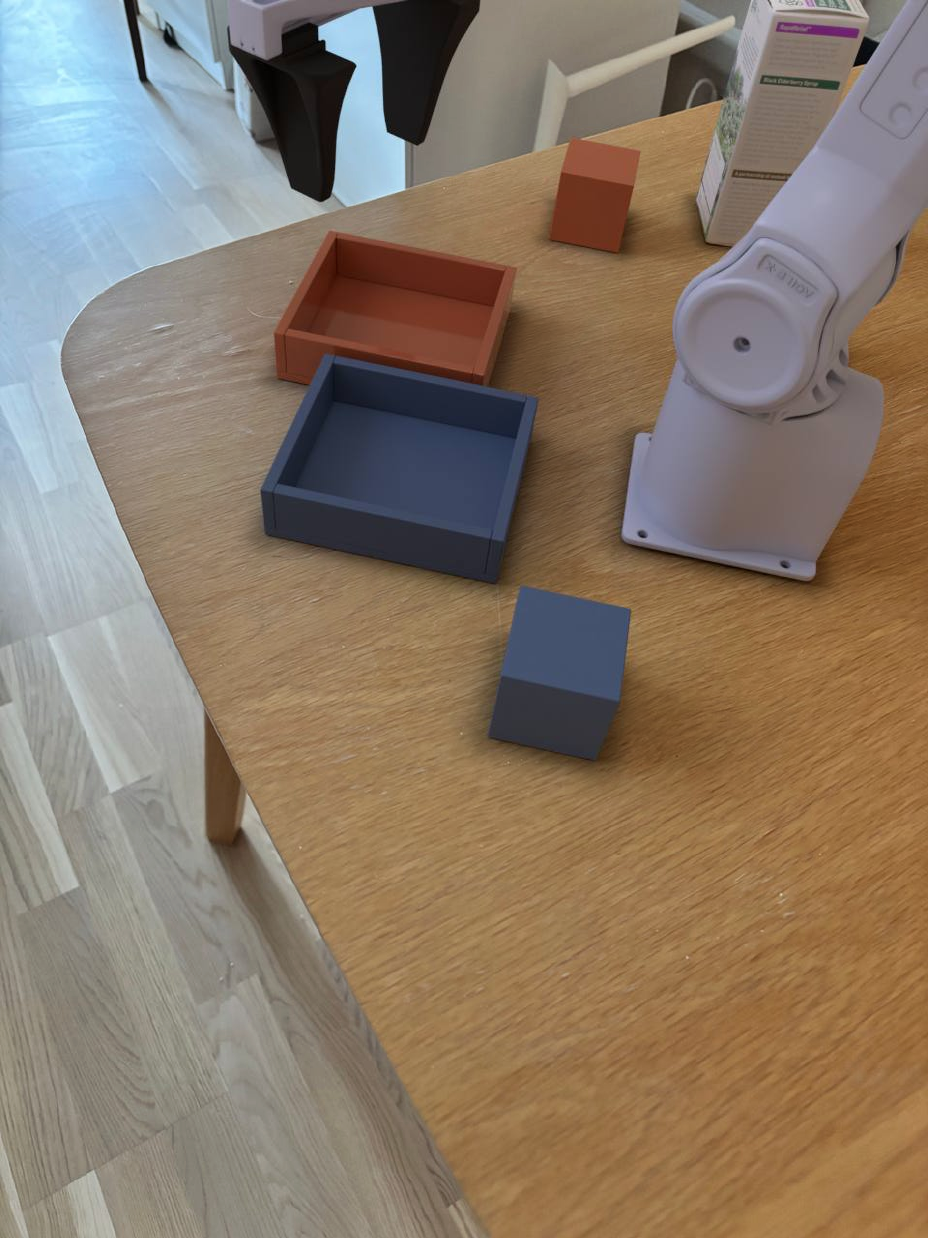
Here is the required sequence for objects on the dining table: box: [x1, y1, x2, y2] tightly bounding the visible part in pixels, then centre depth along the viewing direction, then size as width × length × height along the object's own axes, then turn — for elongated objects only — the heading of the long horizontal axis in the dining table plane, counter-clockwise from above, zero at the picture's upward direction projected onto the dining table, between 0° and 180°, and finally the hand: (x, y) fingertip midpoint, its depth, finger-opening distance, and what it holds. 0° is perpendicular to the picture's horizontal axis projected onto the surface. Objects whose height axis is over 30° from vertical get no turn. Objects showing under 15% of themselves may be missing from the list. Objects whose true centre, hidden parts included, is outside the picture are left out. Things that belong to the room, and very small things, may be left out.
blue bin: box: [259, 354, 540, 585], centre depth 48 cm, size 11×10×3 cm
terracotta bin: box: [273, 230, 518, 387], centre depth 55 cm, size 11×10×3 cm
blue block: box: [487, 585, 632, 761], centre depth 40 cm, size 5×5×5 cm
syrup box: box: [694, 0, 871, 247], centre depth 61 cm, size 6×6×14 cm
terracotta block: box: [548, 137, 641, 254], centre depth 63 cm, size 5×5×5 cm
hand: (359, 163), depth 49 cm, fingers open, 7 cm apart
